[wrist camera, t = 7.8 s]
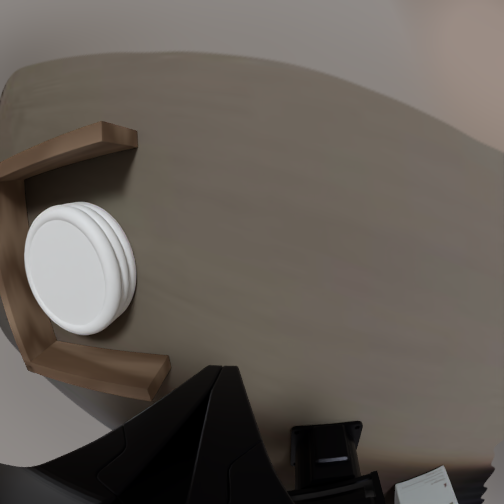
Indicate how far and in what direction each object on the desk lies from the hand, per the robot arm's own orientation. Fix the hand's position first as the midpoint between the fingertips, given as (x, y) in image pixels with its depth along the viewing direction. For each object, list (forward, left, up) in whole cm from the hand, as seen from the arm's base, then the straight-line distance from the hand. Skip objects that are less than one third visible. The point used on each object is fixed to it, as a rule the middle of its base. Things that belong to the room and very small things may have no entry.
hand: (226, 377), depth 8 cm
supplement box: (-33, -20, -12) cm, 41 cm away
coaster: (0, +14, -12) cm, 19 cm away
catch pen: (+1, +14, -12) cm, 19 cm away
